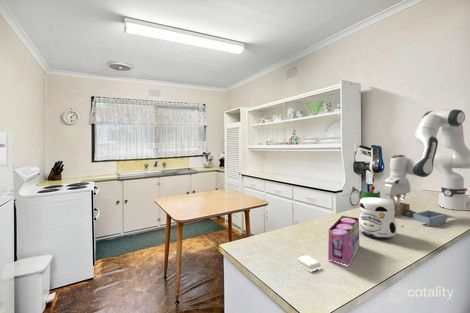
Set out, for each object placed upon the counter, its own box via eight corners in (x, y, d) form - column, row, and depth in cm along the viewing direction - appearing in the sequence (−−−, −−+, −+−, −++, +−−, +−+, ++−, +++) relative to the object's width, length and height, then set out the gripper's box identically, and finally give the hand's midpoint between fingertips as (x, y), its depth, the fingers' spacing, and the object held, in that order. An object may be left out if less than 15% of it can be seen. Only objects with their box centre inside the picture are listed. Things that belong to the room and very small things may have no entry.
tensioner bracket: (396, 211, 159) (396, 200, 159) (422, 218, 144) (422, 206, 144) (384, 213, 155) (384, 202, 154) (409, 221, 140) (409, 208, 140)
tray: (428, 218, 143) (428, 210, 143) (446, 222, 135) (446, 214, 135) (412, 222, 138) (412, 213, 138) (430, 227, 130) (430, 218, 129)
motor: (376, 213, 157) (376, 184, 156) (383, 217, 148) (383, 186, 147) (360, 213, 158) (360, 184, 157) (366, 217, 149) (366, 186, 148)
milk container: (360, 238, 118) (360, 203, 117) (356, 227, 134) (356, 196, 133) (401, 243, 111) (401, 206, 110) (391, 230, 127) (391, 197, 126)
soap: (294, 263, 97) (294, 256, 97) (307, 259, 100) (307, 252, 99) (309, 274, 89) (309, 266, 88) (323, 269, 91) (323, 262, 91)
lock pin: (396, 211, 155) (396, 193, 154) (402, 212, 151) (402, 194, 151) (392, 212, 153) (392, 194, 153) (398, 213, 150) (398, 195, 149)
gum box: (347, 268, 91) (347, 234, 90) (326, 262, 96) (326, 230, 95) (359, 246, 110) (359, 218, 109) (341, 242, 115) (341, 215, 114)
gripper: (403, 177, 158) (403, 197, 159) (382, 180, 150) (382, 201, 151) (413, 179, 152) (413, 199, 153) (392, 182, 144) (392, 203, 145)
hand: (397, 200), depth 152 cm, fingers open, 8 cm apart
